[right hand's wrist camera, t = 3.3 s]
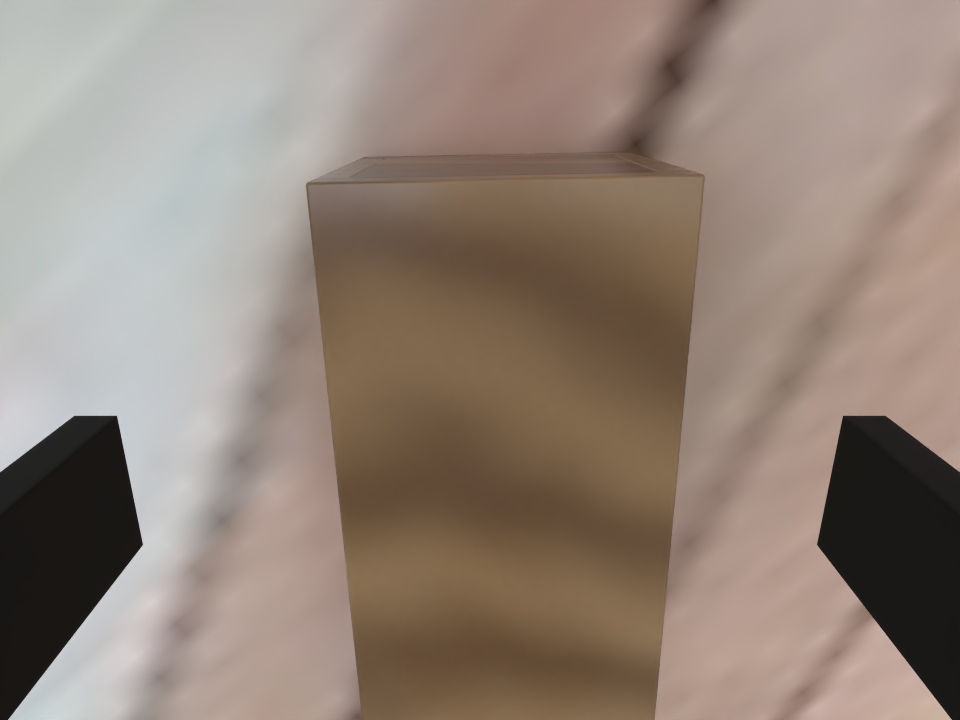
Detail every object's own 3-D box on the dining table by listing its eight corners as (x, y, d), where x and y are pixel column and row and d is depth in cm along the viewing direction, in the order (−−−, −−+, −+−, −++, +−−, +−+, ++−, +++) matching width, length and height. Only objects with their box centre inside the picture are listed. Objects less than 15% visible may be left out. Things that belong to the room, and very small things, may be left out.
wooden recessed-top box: (606, 594, 33) (651, 764, 25) (395, 597, 33) (366, 768, 25) (631, 151, 26) (705, 174, 17) (362, 157, 26) (305, 182, 17)
